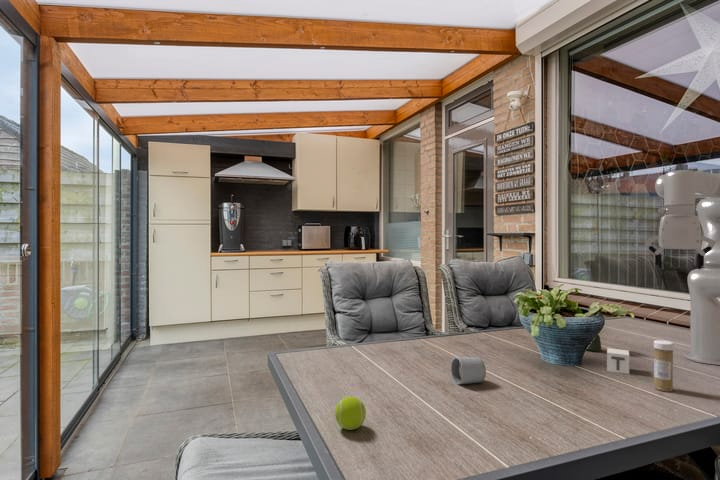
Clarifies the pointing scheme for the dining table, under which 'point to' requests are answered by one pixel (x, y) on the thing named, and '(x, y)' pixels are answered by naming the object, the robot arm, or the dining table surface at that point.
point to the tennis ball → (350, 413)
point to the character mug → (596, 343)
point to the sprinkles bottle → (663, 365)
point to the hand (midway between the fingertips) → (678, 268)
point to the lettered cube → (618, 360)
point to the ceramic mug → (467, 370)
